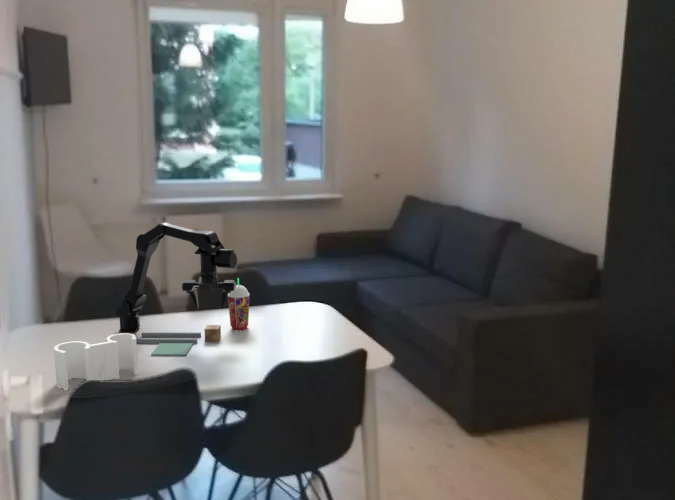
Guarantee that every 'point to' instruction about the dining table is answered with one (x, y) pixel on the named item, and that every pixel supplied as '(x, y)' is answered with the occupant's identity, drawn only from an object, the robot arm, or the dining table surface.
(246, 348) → the dining table surface
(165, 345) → the mat
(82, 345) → the bracket
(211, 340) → the tan block
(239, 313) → the smoothie
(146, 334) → the channel
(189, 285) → the robot arm
